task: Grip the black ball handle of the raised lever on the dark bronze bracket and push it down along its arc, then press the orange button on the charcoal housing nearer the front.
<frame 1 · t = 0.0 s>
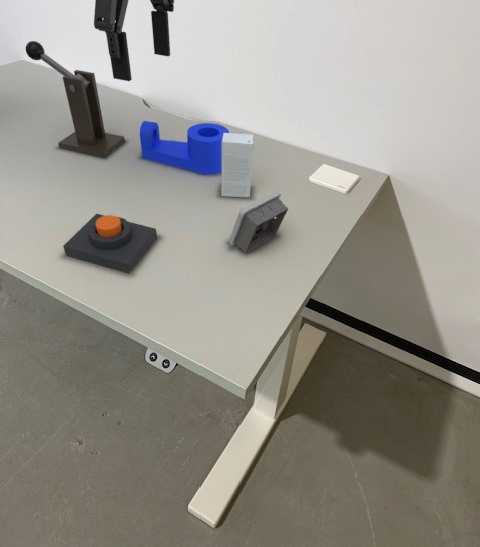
hand: (143, 66, 69), 24 cm above the table, tool pointing down, fingers open, 13 cm apart
cosmetic box: (235, 192, 88), on the table
button: (108, 226, 70), point 4 cm above the table, slide at 0.1 cm
button box: (113, 246, 73), on the table
electrical switch: (257, 242, 76), on the table
bracket 2: (185, 161, 96), on the table
bracket: (92, 144, 99), on the table
lever: (57, 66, 89), point 17 cm above the table, hinge at 28.0°
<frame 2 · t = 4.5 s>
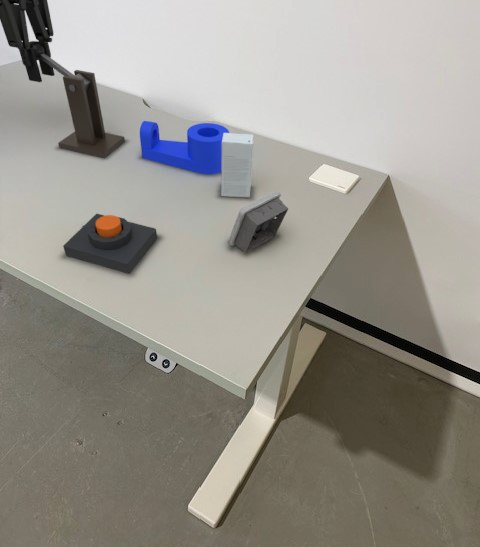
hand: (42, 77, 92), 14 cm above the table, tool pointing down, fingers closed on lever, 4 cm apart
lever: (57, 66, 89), point 17 cm above the table, hinge at 28.0°, touching gripper
everything else where it was.
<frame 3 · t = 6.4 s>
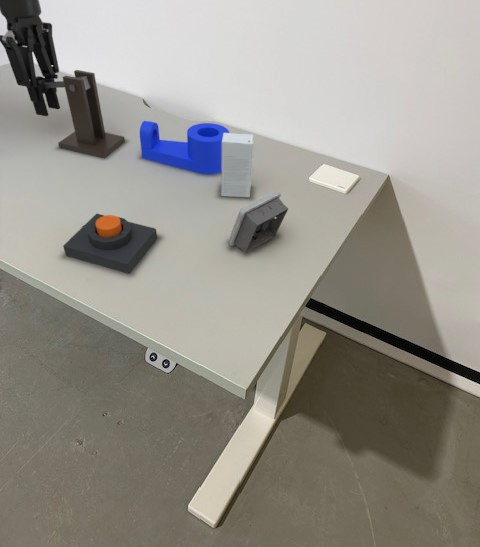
hand: (48, 111, 97), 6 cm above the table, tool pointing down, fingers closed on lever, 4 cm apart
lever: (59, 84, 92), point 13 cm above the table, hinge at -10.7°, touching gripper
everything else where it was.
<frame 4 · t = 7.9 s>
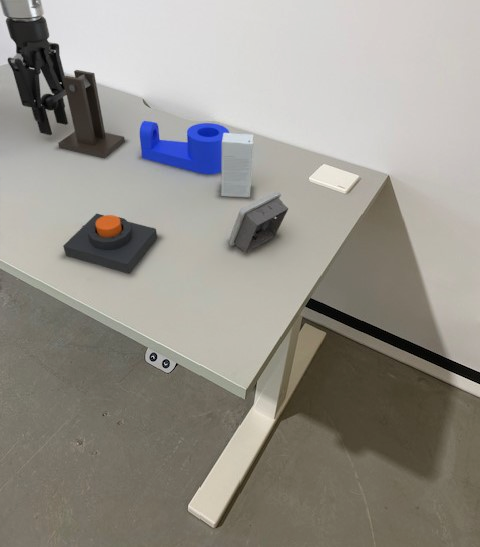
hand: (54, 128, 100), 2 cm above the table, tool pointing down, fingers open, 5 cm apart
lever: (63, 93, 93), point 11 cm above the table, hinge at -30.4°
everything else where it was.
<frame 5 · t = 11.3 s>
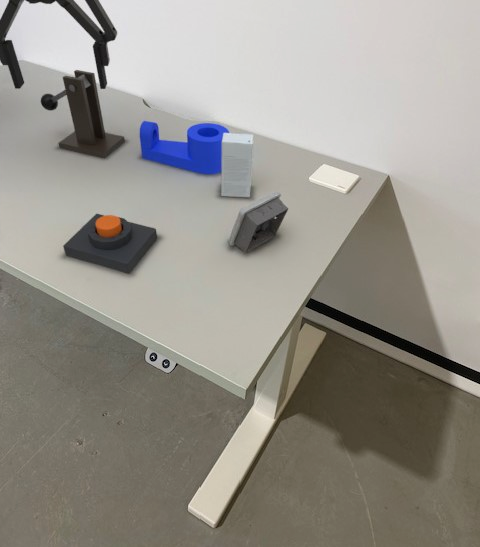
hand: (62, 86, 70), 21 cm above the table, tool pointing down, fingers open, 13 cm apart
nothing on the table moved.
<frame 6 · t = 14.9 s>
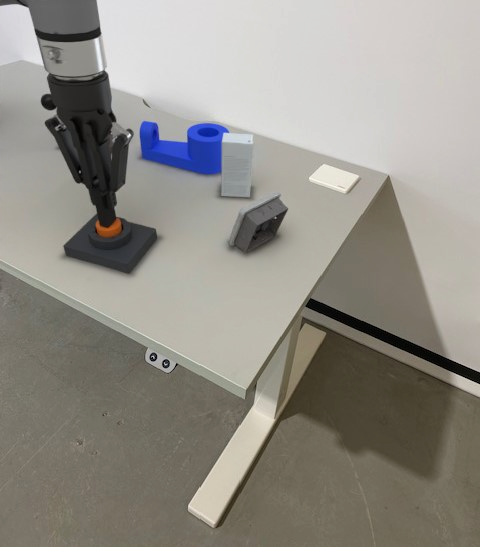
hand: (108, 222, 69), 5 cm above the table, tool pointing down, fingers closed
button: (109, 227, 70), point 4 cm above the table, slide at -0.1 cm, touching gripper
everything else where it was.
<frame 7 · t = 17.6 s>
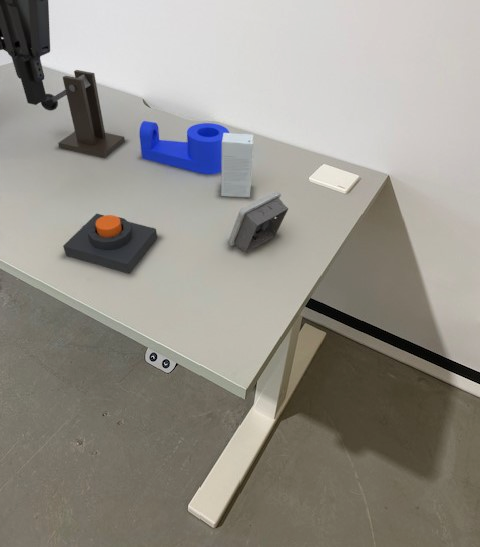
hand: (37, 100, 66), 21 cm above the table, tool pointing down, fingers closed
button: (108, 226, 70), point 4 cm above the table, slide at 0.1 cm
everything else where it was.
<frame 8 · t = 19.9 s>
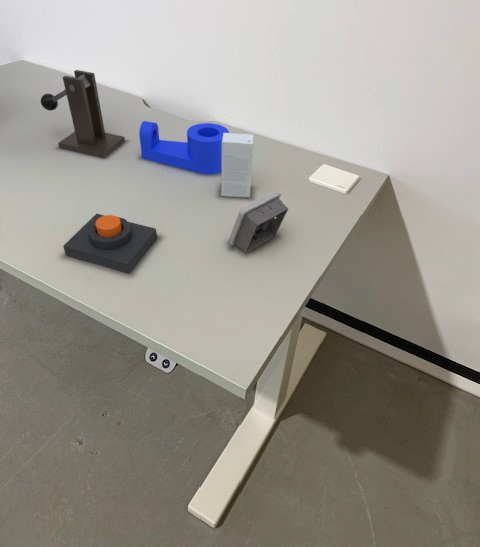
nothing on the table moved.
at the end: lever at -30° (first picture: +28°); button pushed in 1.0 cm at the most during the clip, back to where it started at the end; button slide at 0.1 cm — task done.
